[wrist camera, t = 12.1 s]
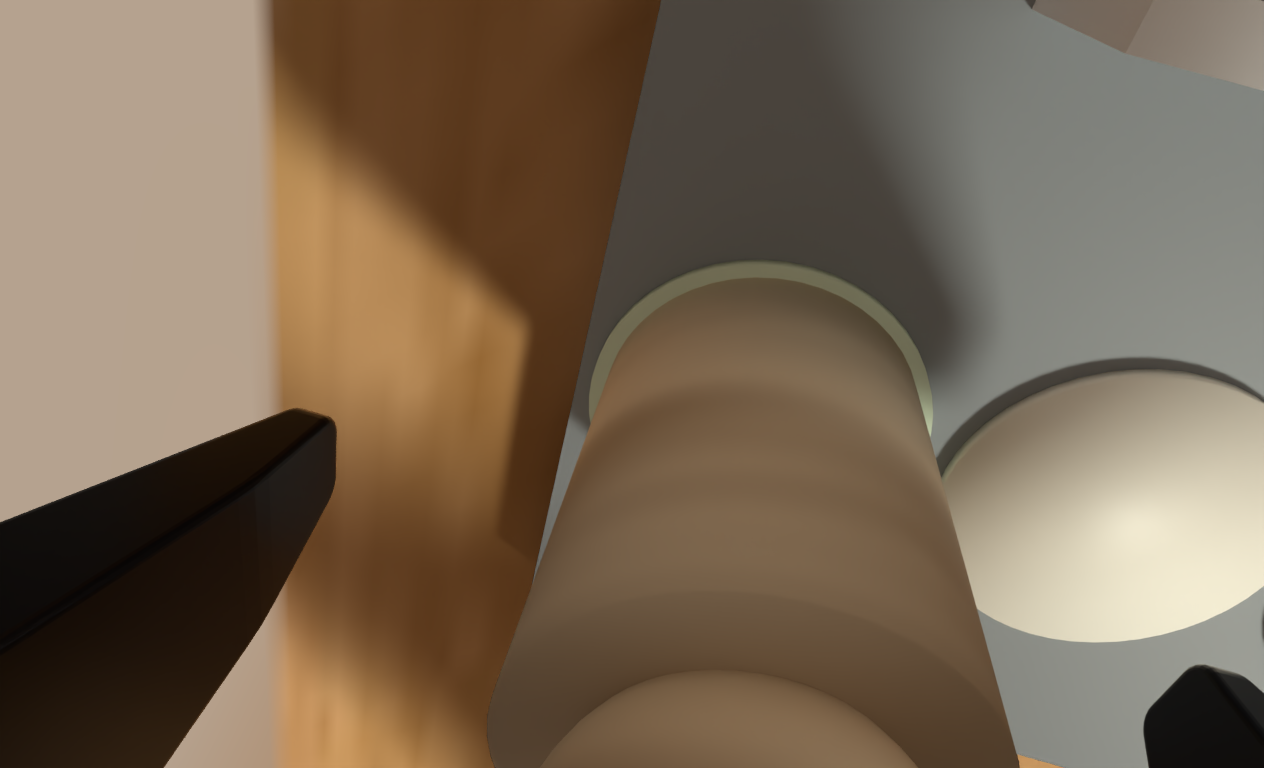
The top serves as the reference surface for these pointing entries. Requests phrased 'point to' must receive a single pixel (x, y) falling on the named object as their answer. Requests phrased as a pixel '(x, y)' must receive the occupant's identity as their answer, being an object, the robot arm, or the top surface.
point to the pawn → (753, 560)
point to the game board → (1002, 297)
